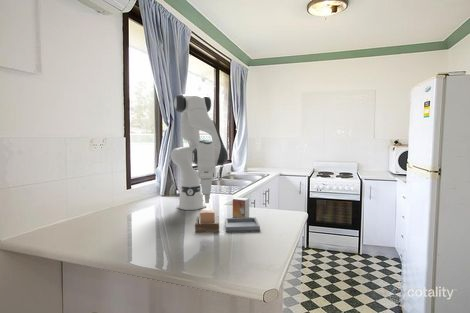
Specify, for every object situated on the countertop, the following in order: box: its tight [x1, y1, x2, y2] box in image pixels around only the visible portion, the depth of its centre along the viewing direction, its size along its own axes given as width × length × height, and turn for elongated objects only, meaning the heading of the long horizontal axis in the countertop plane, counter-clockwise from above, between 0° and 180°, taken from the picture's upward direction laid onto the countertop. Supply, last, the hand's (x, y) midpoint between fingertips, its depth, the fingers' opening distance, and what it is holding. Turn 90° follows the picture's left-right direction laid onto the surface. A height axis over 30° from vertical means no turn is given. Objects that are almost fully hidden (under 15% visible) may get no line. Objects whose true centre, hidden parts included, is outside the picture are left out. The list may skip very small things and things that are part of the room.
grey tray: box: [224, 216, 261, 233], centre depth 144 cm, size 15×16×2 cm
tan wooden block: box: [199, 209, 216, 224], centre depth 144 cm, size 5×7×8 cm
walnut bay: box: [194, 215, 220, 234], centre depth 143 cm, size 14×11×4 cm
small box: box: [232, 196, 250, 218], centre depth 162 cm, size 8×6×10 cm
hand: (207, 201), depth 143 cm, fingers open, 8 cm apart
